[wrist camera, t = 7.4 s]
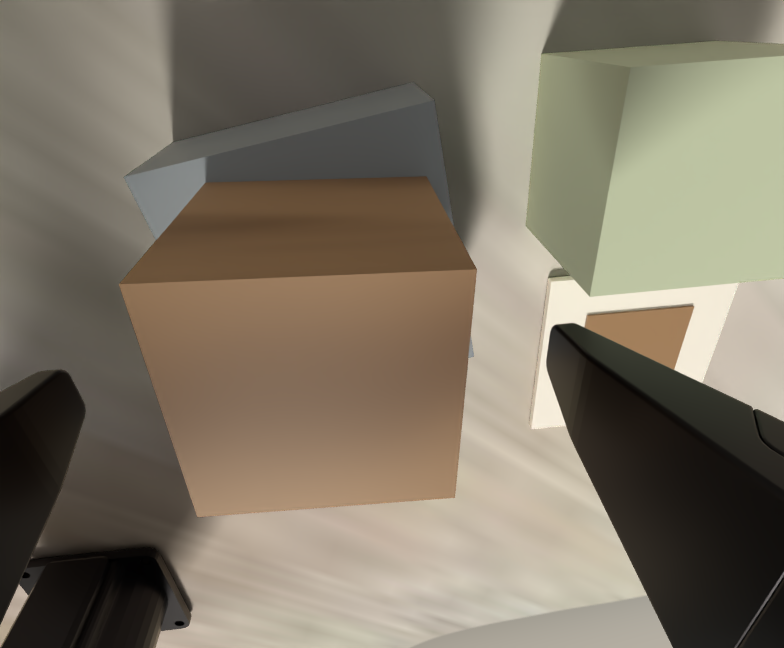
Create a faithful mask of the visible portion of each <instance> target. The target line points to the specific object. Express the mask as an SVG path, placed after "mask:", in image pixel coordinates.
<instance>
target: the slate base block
mask: <svg viewBox="0 0 784 648" xmlns="http://www.w3.org/2000/svg"><path fill="white" fill-rule="evenodd" d="M420 176H426V177H427V178H428V180H429V182H430V184H431V186H432V188H433V189H434V191H435V193H436V195H437V197H438V199H439V201H440V202H441V204H442V206H443V208H444V210H445V212H446V213H447V215H448V217H449V219H450V221H451V223H452V224H453V217H452V211H451V204H450V198H449V191H448V185H447V178H446V172H445V165H444V159H443V152H442V146H441V139H440V133H439V126H438V120H437V113H436V107H435V100H434V99H433V98H431V97H430V96H429V95H428V94H427V93H425V92H424V91H423V90H422V89H421V88H420V87H418V86H417V85H416V84H415V83H414V82H412V83H408V84H404V85H400V86H396V87H392V88H388V89H384V90H380V91H376V92H372V93H368V94H364V95H360V96H356V97H352V98H348V99H344V100H340V101H336V102H332V103H328V104H324V105H320V106H316V107H312V108H308V109H304V110H300V111H296V112H292V113H288V114H284V115H280V116H276V117H272V118H268V119H264V120H260V121H256V122H252V123H248V124H244V125H240V126H236V127H232V128H228V129H224V130H220V131H216V132H212V133H208V134H204V135H200V136H196V137H191V138H187V139H183V140H179V141H175V142H173V143H171V144H170V145H168V146H167V147H165V148H164V149H163V150H161V151H160V152H158V153H157V154H156V155H154V156H153V157H151V158H150V159H149V160H147V161H146V162H144V163H143V164H141V165H140V166H139V167H137V168H136V169H134V170H133V171H132V172H130V173H129V174H127V175H126V176H124V179H125V181H126V183H127V185H128V187H129V189H130V191H131V193H132V195H133V197H134V199H135V201H136V202H137V204H138V206H139V208H140V210H141V212H142V214H143V216H144V218H145V220H146V222H147V224H148V226H149V228H150V230H151V232H152V234H153V236H154V238H155V240H157V239H158V238H159V237H160V235H161V234H162V233H163V232H164V231H165V230H166V228H167V227H168V226H169V225H170V224H171V222H172V221H173V220H174V219H175V218H176V217H177V215H178V214H179V213H180V212H181V211H182V210H183V208H184V207H185V206H186V205H187V204H188V202H189V201H190V200H191V199H192V198H193V197H194V195H195V194H196V193H197V192H198V191H199V190H200V188H201V187H202V186H203V185H204V184H205V183H208V182H243V181H279V180H314V179H350V178H385V177H420ZM453 226H454V224H453ZM470 357H474V353H473V347H472V340H471V335H470V345H469V356H468V358H470Z"/></svg>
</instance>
